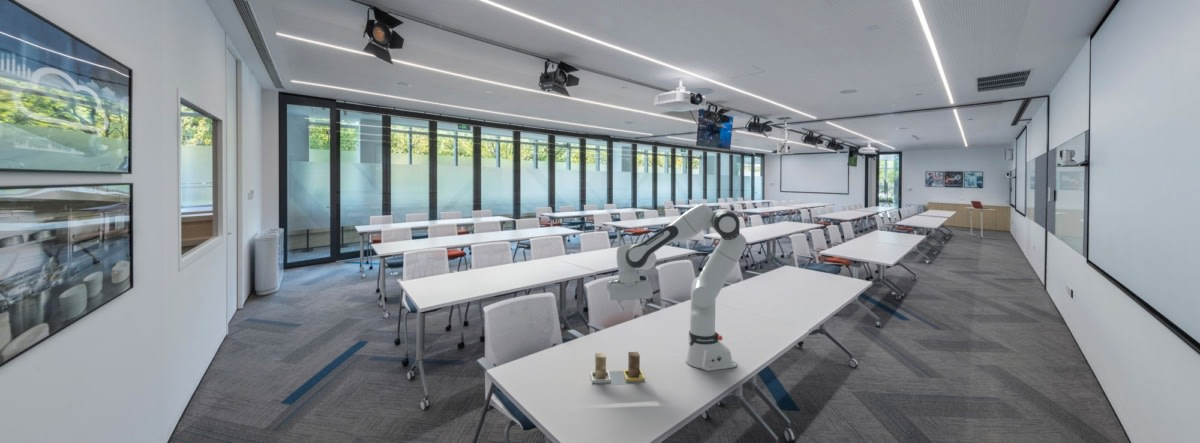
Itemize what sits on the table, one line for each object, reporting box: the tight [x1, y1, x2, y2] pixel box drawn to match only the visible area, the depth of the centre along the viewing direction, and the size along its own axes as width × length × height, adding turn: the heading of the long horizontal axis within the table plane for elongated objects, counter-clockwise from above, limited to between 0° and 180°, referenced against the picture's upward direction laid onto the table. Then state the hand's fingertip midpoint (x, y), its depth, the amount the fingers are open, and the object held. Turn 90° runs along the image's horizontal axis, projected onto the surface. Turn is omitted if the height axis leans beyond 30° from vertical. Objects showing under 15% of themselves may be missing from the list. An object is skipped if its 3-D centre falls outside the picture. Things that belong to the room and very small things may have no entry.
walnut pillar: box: [627, 351, 641, 378], centre depth 180 cm, size 4×4×10 cm
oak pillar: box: [594, 352, 607, 379], centre depth 179 cm, size 4×4×10 cm
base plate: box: [589, 369, 647, 387], centre depth 180 cm, size 22×12×2 cm, turn 96°
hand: (632, 309), depth 195 cm, fingers open, 8 cm apart
